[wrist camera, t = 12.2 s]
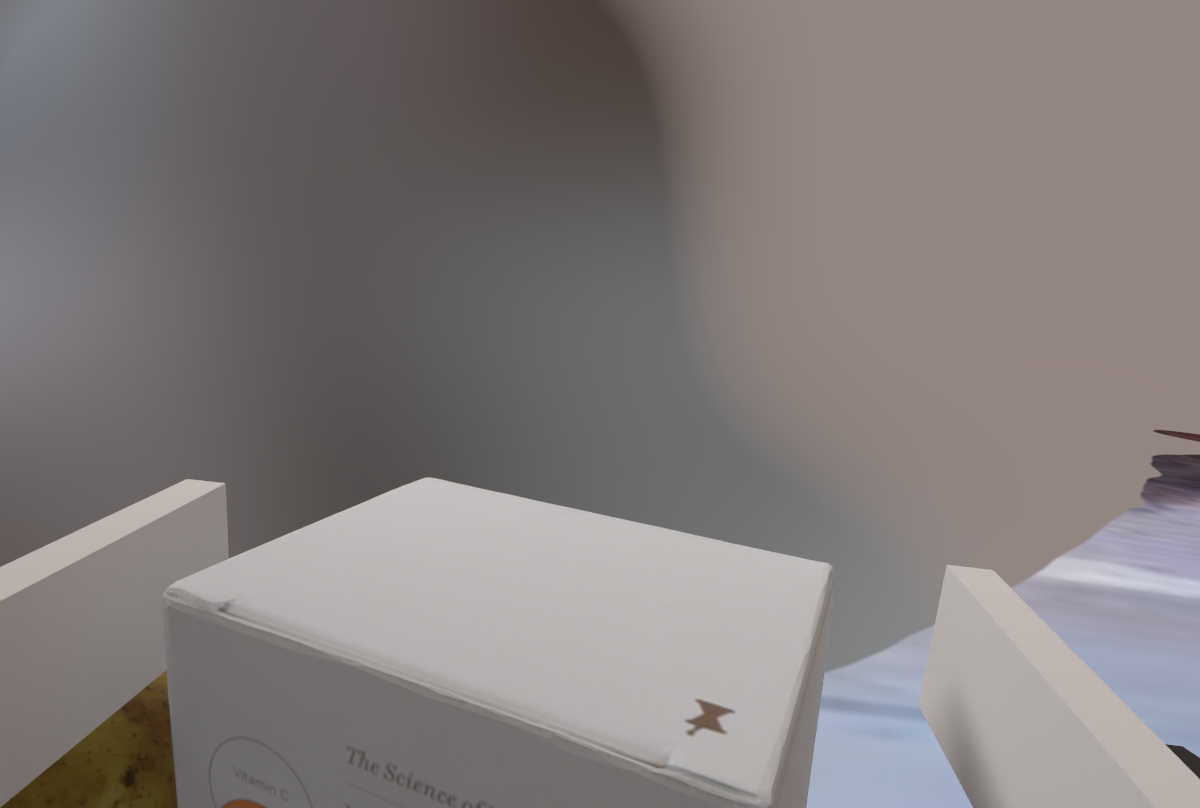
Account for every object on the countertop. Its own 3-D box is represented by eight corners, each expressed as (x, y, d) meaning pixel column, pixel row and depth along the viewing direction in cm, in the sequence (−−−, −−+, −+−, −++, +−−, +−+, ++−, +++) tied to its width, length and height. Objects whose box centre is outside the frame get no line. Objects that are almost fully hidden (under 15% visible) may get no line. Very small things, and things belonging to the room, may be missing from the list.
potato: (406, 894, 22) (412, 665, 21) (-200, 1207, 14) (-276, 881, 13) (323, 739, 29) (322, 555, 27) (-130, 899, 21) (-174, 653, 19)
